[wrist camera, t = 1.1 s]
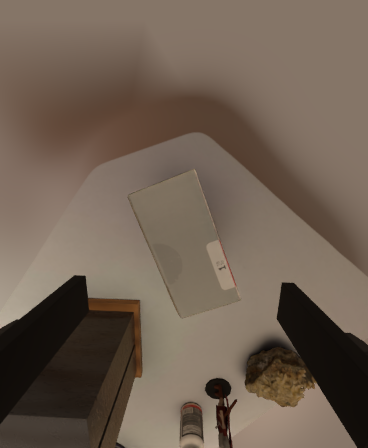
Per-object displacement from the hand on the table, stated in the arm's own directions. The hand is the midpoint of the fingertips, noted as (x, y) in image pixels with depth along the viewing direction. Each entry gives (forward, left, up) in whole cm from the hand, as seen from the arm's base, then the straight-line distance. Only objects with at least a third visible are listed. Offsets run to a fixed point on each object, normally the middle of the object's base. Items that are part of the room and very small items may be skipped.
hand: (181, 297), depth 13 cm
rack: (+30, -20, -27) cm, 45 cm away
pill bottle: (+53, +2, -28) cm, 60 cm away
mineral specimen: (+36, +21, -28) cm, 50 cm away
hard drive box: (0, 0, -28) cm, 28 cm away
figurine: (+45, +9, -28) cm, 53 cm away
